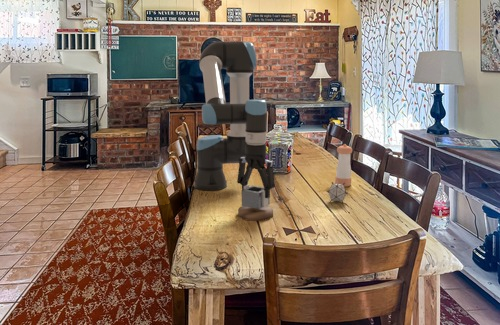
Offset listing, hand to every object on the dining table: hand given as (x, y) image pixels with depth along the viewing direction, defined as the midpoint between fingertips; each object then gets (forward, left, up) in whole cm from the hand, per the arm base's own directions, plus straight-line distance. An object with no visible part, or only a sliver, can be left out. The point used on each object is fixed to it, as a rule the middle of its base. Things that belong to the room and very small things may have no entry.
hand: (255, 204), depth 158 cm
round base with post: (0, 0, -4) cm, 4 cm away
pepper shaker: (+11, +59, -4) cm, 60 cm away
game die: (+19, +32, -4) cm, 37 cm away
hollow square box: (0, 0, 0) cm, 0 cm away
